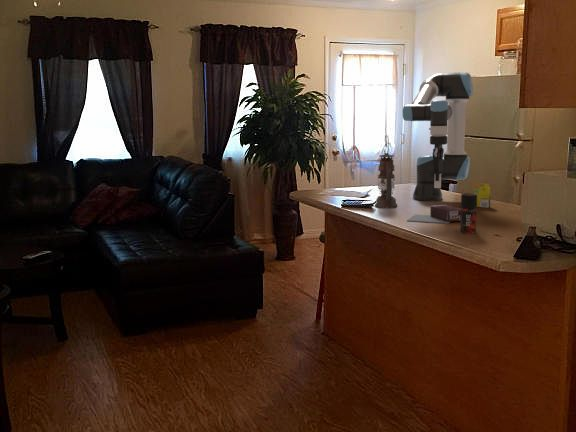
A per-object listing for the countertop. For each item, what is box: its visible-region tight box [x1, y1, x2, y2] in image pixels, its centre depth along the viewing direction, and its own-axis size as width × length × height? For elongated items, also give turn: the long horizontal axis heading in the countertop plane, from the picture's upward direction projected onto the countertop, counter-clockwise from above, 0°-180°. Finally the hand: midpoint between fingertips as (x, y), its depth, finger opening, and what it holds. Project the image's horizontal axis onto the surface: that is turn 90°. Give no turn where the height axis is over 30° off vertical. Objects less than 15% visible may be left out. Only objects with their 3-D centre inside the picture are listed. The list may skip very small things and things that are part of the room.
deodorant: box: [459, 192, 478, 234], centre depth 246 cm, size 6×6×15 cm
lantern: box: [374, 135, 398, 209], centre depth 306 cm, size 11×16×35 cm
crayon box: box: [473, 182, 492, 209], centre depth 302 cm, size 7×3×12 cm, turn 57°
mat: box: [406, 213, 451, 225], centre depth 274 cm, size 15×18×1 cm
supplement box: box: [429, 204, 461, 223], centre depth 273 cm, size 9×5×16 cm
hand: (437, 187), depth 282 cm, fingers closed
